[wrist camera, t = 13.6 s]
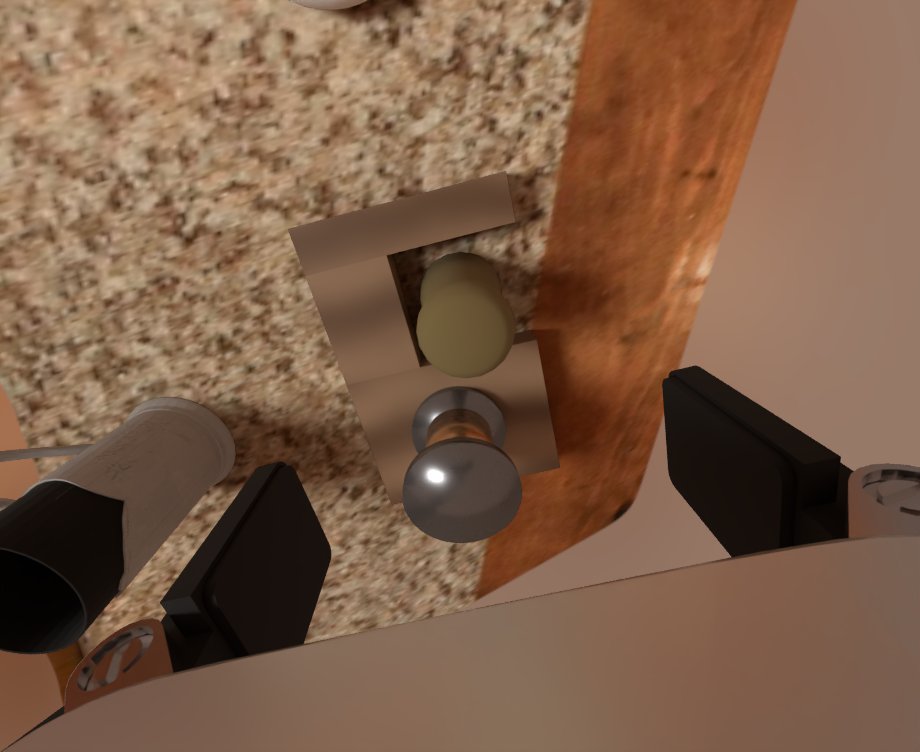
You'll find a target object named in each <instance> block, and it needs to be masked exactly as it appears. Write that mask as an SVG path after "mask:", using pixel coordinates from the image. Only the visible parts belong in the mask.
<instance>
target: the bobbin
mask: <svg viewBox="0 0 920 752" xmlns="http://www.w3.org/2000/svg"><path fill="white" fill-rule="evenodd" d="M505 436H506V427H505V421H504V418H503V414H502V412H501V410H500V408H499V406H498V405H497V403H496V402H495V401H494V400H493V399H492V398H491V397H490V396H488V395H487V394H485V393H484V392H482V391H479V390H477V389H474V388H470V387H463V386H455V387H448V388H444V389H441V390H439V391H437V392H435V393H433V394H431V395H430V396H429V397H427V398H426V399H425V400H424V401H423V402H422V403H421V405H420V406H419V407H418V409H417V411H416V413H415V416H414V420H413V425H412V440H413V444H414V446H415V449H416V451H417V452H418V455H417V456H416V457H415V458H414V459H413V461H412V462H411V463H410V465H409V467H408V469H407V471H406V474H405V478H404V483H403V489H402V499H403V505H404V508H405V511H406V513H407V515H408V517H409V518H410V520H411V521H412V522H413V523H414V525H415V526H417V527H418V528H419V529H420V530H421V531H423V532H424V533H426V534H427V535H429V536H431V537H433V538H436V539H439V540H442V541H446V542H453V543H469V542H475V541H479V540H483V539H485V538H488V537H490V536H492V535H494V534H496V533H498V532H499V531H501V530H502V529H503V528H505V527H506V526H507V525H508V524H509V523H510V522H511V521H512V519H513V518H514V516H515V515H516V513H517V511H518V509H519V506H520V503H521V498H522V487H521V482H520V478H519V474H518V471H517V468H516V466H515V464H514V463H513V461H512V460H511V458H510V457H509V456H508V455H507V454H506V453H505V452H504V451H503V450H502V447H503V445H504V441H505Z"/></svg>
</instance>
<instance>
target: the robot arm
mask: <svg viewBox="0 0 920 752" xmlns="http://www.w3.org/2000/svg"><path fill="white" fill-rule="evenodd" d="M662 387H663V402H664V416H665V430H666V445H667V459H668V471H669V476H670V479H671V481H672V483H673V485H674V486H675V488H676V489H677V490H678V492H679V493H680V494H681V495H682V496H683V498H684V499H685V500H686V501H687V503H688V504H689V505H690V506H691V507H692V509H693V510H694V511H695V512H696V514H697V515H698V516H699V517H700V519H701V520H702V521H703V522H704V523H705V525H706V526H707V527H708V528H709V530H710V531H711V532H712V533H713V534H714V536H715V537H716V538H717V539H718V541H719V542H720V543H721V544H722V546H723V547H724V548H725V549H726V551H727V552H728V553H729V554H730V556H731V558H726V559H721V560H716V561H711V562H706V563H701V564H696V565H691V566H686V567H681V568H676V569H671V570H666V571H661V572H655V573H650V574H645V575H640V576H635V577H630V578H625V579H620V580H616V581H610V582H605V583H600V584H596V585H590V586H585V587H580V588H575V589H570V590H565V591H560V592H555V593H550V594H546V595H540V596H536V597H530V598H525V599H520V600H515V601H510V602H505V603H500V604H495V605H491V606H486V607H481V608H476V609H471V610H467V611H461V612H456V613H451V614H446V615H442V616H437V617H432V618H427V619H422V620H417V621H412V622H407V623H402V624H398V625H393V626H388V627H383V628H378V629H374V630H369V631H364V632H359V633H354V634H349V635H345V636H340V637H335V638H330V639H326V640H321V641H316V642H311V643H306V644H304V641H305V638H306V634H307V631H308V628H309V625H310V622H311V619H312V616H313V613H314V610H315V607H316V604H317V601H318V598H319V595H320V591H321V588H322V585H323V582H324V579H325V576H326V573H327V570H328V567H329V564H330V560H331V548H330V545H329V542H328V540H327V538H326V536H325V534H324V531H323V529H322V527H321V525H320V523H319V521H318V519H317V516H316V514H315V512H314V510H313V508H312V506H311V503H310V501H309V499H308V497H307V495H306V493H305V491H304V488H303V486H302V484H301V482H300V480H299V478H298V475H297V473H296V471H295V469H294V468H293V467H292V466H290V465H289V466H287V465H286V464H285V463H284V462H277V463H273V464H268V465H264V466H260V467H258V468H257V469H256V470H255V471H254V473H253V474H252V476H251V477H250V478H249V480H248V481H247V482H246V484H245V485H244V487H243V488H242V489H241V491H240V492H239V494H238V495H237V496H236V498H235V499H234V500H233V502H232V503H231V505H230V506H229V507H228V509H227V510H226V512H225V513H224V514H223V516H222V517H221V519H220V520H219V521H218V523H217V524H216V525H215V527H214V528H213V530H212V531H211V532H210V534H209V535H208V537H207V538H206V539H205V541H204V542H203V543H202V545H201V546H200V548H199V549H198V550H197V552H196V553H195V555H194V556H193V557H192V559H191V560H190V562H189V563H188V564H187V566H186V567H185V568H184V570H183V571H182V573H181V574H180V575H179V577H178V578H177V580H176V581H175V582H174V584H173V585H172V586H171V588H170V589H169V591H168V592H167V593H166V595H165V596H164V598H163V599H162V600H161V602H160V604H161V605H162V606H163V608H164V609H165V611H166V612H167V613H166V615H165V616H164V618H163V619H162V621H161V622H160V620H157V619H154V618H149V619H141V620H139V621H136V622H134V623H131V624H128V625H127V626H125V627H123V628H121V629H119V630H118V631H116V632H114V633H113V634H112V635H110V636H109V637H107V638H106V639H105V640H103V641H102V642H101V643H99V644H98V645H97V646H96V647H95V648H94V649H93V650H92V651H91V652H90V653H88V654H87V656H86V657H85V658H84V659H83V660H82V661H81V662H80V664H79V665H78V666H77V667H76V669H75V670H74V672H73V674H72V675H71V677H70V678H69V681H68V684H67V687H66V692H65V705H64V706H63V707H62V708H60V709H59V710H58V711H56V712H55V713H54V714H52V715H51V716H49V717H48V718H47V719H45V720H44V721H43V722H41V723H40V724H38V725H37V726H36V727H34V728H33V729H32V730H30V731H29V732H28V733H26V734H25V735H23V736H22V737H21V738H19V739H18V740H17V741H15V742H14V743H12V744H11V745H10V746H8V747H7V748H6V749H4V750H3V751H2V752H920V467H915V466H910V465H901V464H873V465H869V466H865V467H861V468H858V469H857V470H856V471H852V470H851V469H849V468H848V467H846V466H845V465H843V464H842V463H840V460H841V457H840V456H839V455H837V454H836V453H834V452H832V451H831V450H829V449H828V448H826V447H825V446H823V445H822V444H820V443H818V442H817V441H815V440H814V439H812V438H811V437H809V436H807V435H806V434H804V433H803V432H801V431H800V430H798V429H796V428H795V427H793V426H792V425H790V424H789V423H787V422H785V421H784V420H782V419H781V418H779V417H778V416H776V415H774V414H773V413H771V412H770V411H768V410H767V409H765V408H763V407H762V406H760V405H759V404H757V403H755V402H754V401H752V400H751V399H749V398H748V397H746V396H744V395H743V394H741V393H740V392H738V391H737V390H735V389H733V388H732V387H730V386H729V385H727V384H726V383H724V382H722V381H721V380H719V379H718V378H716V377H715V376H713V375H711V374H710V373H708V372H707V371H705V370H704V369H702V368H700V367H698V366H692V367H688V368H683V369H679V370H674V371H671V372H670V373H669V378H666V379H664V380H663V383H662Z"/></svg>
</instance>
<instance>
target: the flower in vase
mask: <svg viewBox="0 0 920 752" xmlns="http://www.w3.org/2000/svg"><path fill="white" fill-rule="evenodd" d="M289 1H291V2H294V3H297V4H299V5H302V6H305V7H309V8H315V9H321V10H336V9H344V8H349V7H352V6H356V5H359V4H361V3H363V2H365V1H367V0H289Z"/></svg>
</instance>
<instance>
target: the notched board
mask: <svg viewBox="0 0 920 752" xmlns="http://www.w3.org/2000/svg"><path fill="white" fill-rule="evenodd" d="M514 222H515V218H514V212H513V207H512V201H511V196H510V190H509V185H508V179H507V174H506V171H504V172H500V173H497V174H493V175H489V176H485V177H482V178H478V179H474V180H470V181H467V182H463V183H459V184H455V185H452V186H448V187H444V188H440V189H437V190H433V191H429V192H425V193H422V194H418V195H414V196H410V197H407V198H403V199H399V200H395V201H392V202H388V203H384V204H380V205H377V206H373V207H369V208H365V209H362V210H358V211H354V212H350V213H347V214H343V215H339V216H335V217H331V218H328V219H324V220H320V221H316V222H313V223H309V224H305V225H301V226H298V227H294V228H290V229H288V231H289V234H290V236H291V239H292V242H293V244H294V247H295V250H296V252H297V255H298V257H299V260H300V263H301V265H302V268H303V271H304V273H305V276H306V279H307V281H308V284H309V287H310V289H311V292H312V295H313V297H314V300H315V303H316V305H317V308H318V311H319V313H320V316H321V319H322V321H323V324H324V326H325V329H326V332H327V334H328V337H329V340H330V342H331V345H332V348H333V350H334V353H335V356H336V358H337V361H338V364H339V366H340V369H341V372H342V374H343V377H344V380H345V382H346V385H347V388H348V390H349V393H350V395H351V398H352V401H353V403H354V406H355V409H356V411H357V414H358V417H359V419H360V422H361V425H362V427H363V430H364V433H365V435H366V438H367V441H368V443H369V446H370V449H371V451H372V454H373V456H374V459H375V462H376V464H377V467H378V470H379V472H380V475H381V478H382V480H383V483H384V486H385V488H386V491H387V494H388V496H389V499H390V502H391V504H392V505H393V504H397V503H402V502H403V499H402V489H403V483H404V478H405V474H406V471H407V469H408V467H409V465H410V463H411V462H412V461H413V459H414V458H415V457H416V456H417V455H418V452H417V451H416V449H415V446H414V444H413V440H412V425H413V420H414V416H415V413H416V411H417V409H418V407H419V406H420V405H421V403H422V402H423V401H424V400H425V399H426V398H427V397H429V396H430V395H431V394H433V393H435V392H437V391H439V390H441V389H444V388H448V387H455V386H463V387H470V388H474V389H477V390H479V391H482V392H484V393H485V394H487V395H488V396H490V397H491V398H492V399H493V400H494V401H495V402H496V403H497V405H498V406H499V408H500V410H501V412H502V414H503V418H504V421H505V427H506V436H505V441H504V445H503V447H502V450H503V451H504V452H505V453H506V454H507V455H508V456H509V457H510V458H511V460H512V461H513V463H514V464H515V466H516V468H517V471H518V474H519V477H520V476H525V475H529V474H534V473H538V472H543V471H548V470H552V469H557V468H560V464H559V458H558V453H557V447H556V442H555V436H554V431H553V426H552V420H551V415H550V409H549V404H548V398H547V393H546V387H545V382H544V376H543V371H542V365H541V360H540V354H539V349H538V343H537V339H536V338H535V336H534V335H533V333H532V332H531V330H528V331H523V332H519V333H515V336H514V340H513V345H512V348H511V350H510V351H509V353H508V355H507V357H506V358H505V360H504V361H503V362H502V363H501V364H500V365H499V366H497V367H496V368H495V369H494V370H492V371H490V372H488V373H486V374H484V375H482V376H479V377H473V378H459V377H452V376H450V375H448V374H445V373H443V372H441V371H439V370H438V369H437V368H436V367H434V366H433V365H432V364H431V363H430V362H429V361H428V360H427V358H426V357H425V355H424V356H422V355H421V351H420V348H419V344H418V341H417V338H416V334H415V331H414V327H413V324H412V321H411V317H410V314H409V311H408V307H407V304H406V300H405V297H404V294H403V290H402V287H401V283H400V280H399V277H398V273H397V270H396V266H395V263H394V260H393V256H392V254H394V253H397V252H401V251H405V250H409V249H413V248H417V247H421V246H425V245H428V244H432V243H436V242H440V241H444V240H448V239H452V238H456V237H459V236H463V235H467V234H471V233H475V232H479V231H483V230H487V229H490V228H494V227H498V226H502V225H506V224H510V223H514Z"/></svg>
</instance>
